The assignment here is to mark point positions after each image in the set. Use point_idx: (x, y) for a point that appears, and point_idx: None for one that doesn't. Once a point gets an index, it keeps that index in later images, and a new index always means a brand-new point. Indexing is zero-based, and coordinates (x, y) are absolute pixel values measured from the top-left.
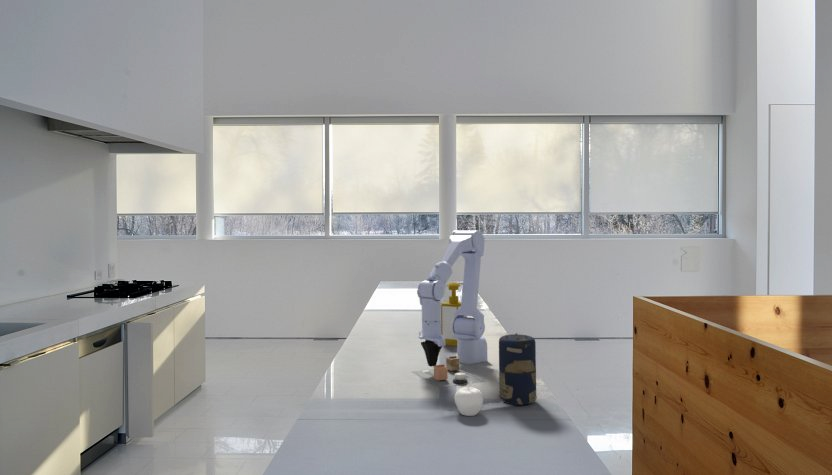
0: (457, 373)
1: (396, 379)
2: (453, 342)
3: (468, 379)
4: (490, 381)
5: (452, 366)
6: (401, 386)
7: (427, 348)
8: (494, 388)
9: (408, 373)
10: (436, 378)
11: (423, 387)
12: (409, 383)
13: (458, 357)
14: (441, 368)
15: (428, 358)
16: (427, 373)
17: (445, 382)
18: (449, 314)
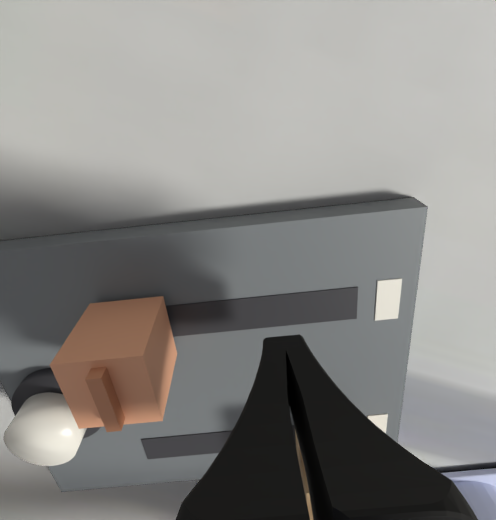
0: (57, 435)
1: (379, 34)
2: None
3: (110, 444)
4: (134, 498)
5: (298, 453)
6: (146, 10)
7: (202, 485)
8: (16, 482)
9: (488, 190)
10: (114, 304)
11: (83, 184)
12: (218, 112)
13: (482, 518)
14: (62, 386)
15: (265, 379)
16: (321, 294)
17: (66, 332)
18: None
